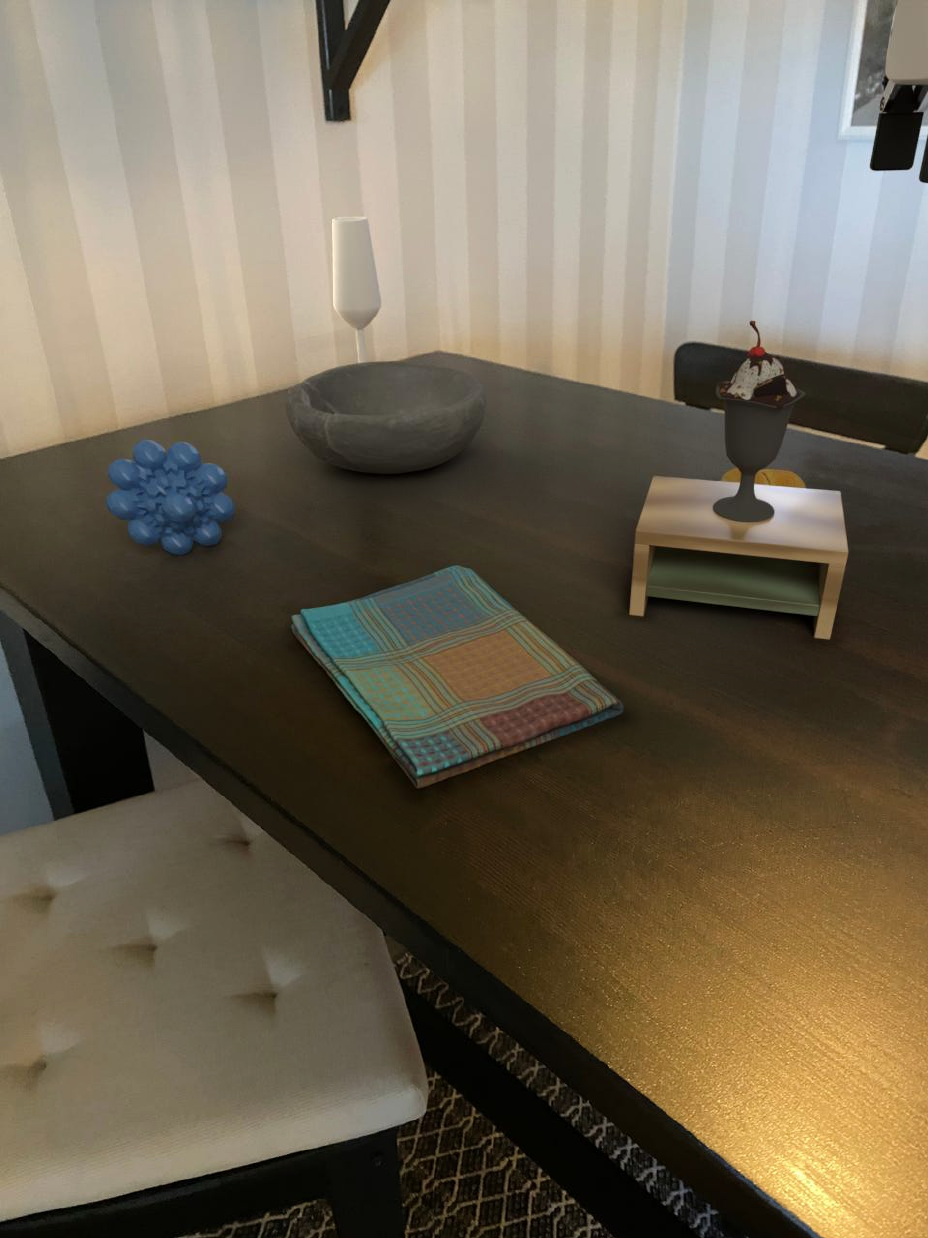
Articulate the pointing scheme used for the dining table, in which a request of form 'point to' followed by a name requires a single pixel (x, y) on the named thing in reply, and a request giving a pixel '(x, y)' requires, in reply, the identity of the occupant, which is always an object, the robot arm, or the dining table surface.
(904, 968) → the dining table surface
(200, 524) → the blue flower ornament
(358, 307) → the champagne flute
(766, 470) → the bread roll
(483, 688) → the dish towel
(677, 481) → the shelf
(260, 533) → the dining table surface
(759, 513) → the sundae
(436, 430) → the bowl
